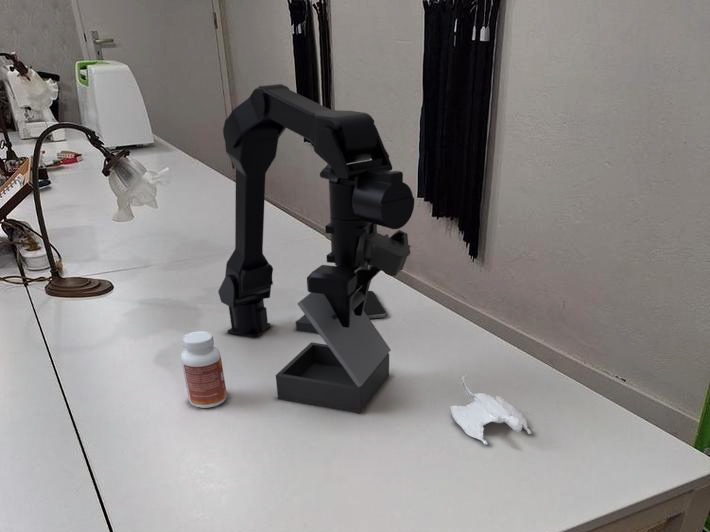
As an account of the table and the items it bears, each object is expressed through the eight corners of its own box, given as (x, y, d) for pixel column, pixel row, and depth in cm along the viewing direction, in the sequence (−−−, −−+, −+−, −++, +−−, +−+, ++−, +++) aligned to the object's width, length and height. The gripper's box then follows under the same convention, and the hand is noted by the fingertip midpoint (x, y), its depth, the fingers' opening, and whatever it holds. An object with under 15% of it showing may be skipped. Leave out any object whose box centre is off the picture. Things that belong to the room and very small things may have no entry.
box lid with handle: (296, 303, 96) (319, 286, 93) (333, 274, 106) (355, 258, 103) (358, 387, 100) (381, 373, 97) (387, 352, 110) (410, 338, 107)
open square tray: (277, 398, 107) (275, 375, 105) (312, 364, 117) (311, 342, 115) (360, 413, 102) (360, 389, 100) (389, 376, 112) (389, 353, 110)
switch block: (296, 330, 130) (294, 313, 128) (312, 315, 136) (311, 299, 134) (342, 336, 127) (341, 319, 125) (357, 321, 133) (357, 304, 131)
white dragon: (429, 399, 105) (430, 376, 103) (484, 387, 108) (486, 365, 106) (486, 456, 92) (489, 430, 89) (548, 441, 94) (552, 416, 92)
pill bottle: (233, 402, 107) (224, 338, 100) (198, 413, 104) (186, 348, 97) (217, 387, 111) (208, 325, 104) (183, 398, 108) (171, 335, 102)
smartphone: (372, 289, 145) (387, 313, 133) (372, 293, 146) (387, 317, 134) (338, 292, 144) (350, 317, 132) (339, 296, 145) (351, 320, 133)
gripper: (380, 237, 83) (380, 351, 92) (424, 204, 97) (419, 306, 106) (302, 230, 86) (308, 341, 95) (354, 200, 100) (356, 299, 109)
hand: (352, 321), depth 101 cm, fingers closed on box lid with handle, 5 cm apart
